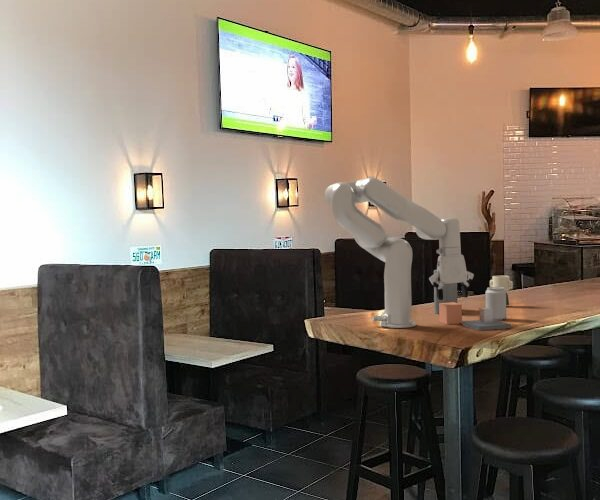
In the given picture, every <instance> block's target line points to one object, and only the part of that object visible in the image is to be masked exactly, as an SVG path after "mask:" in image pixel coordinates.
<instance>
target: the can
mask: <svg viewBox="0 0 600 500" xmlns="http://www.w3.org/2000/svg"><path fill="white" fill-rule="evenodd" d="M506 293H507V291H505V290H504V288H503V287H490V286H489V287H487V288H486V290H485V302H484V303H485V308H491V309H492V319H494V320H497V321H504V320H505V319H507V305H506ZM503 319H504V320H503Z"/></svg>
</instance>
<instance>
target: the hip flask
mask: <svg viewBox="0 0 600 500" xmlns="http://www.w3.org/2000/svg"><path fill="white" fill-rule="evenodd" d="M435 273H437V269H434V270H433V275H434V274H435ZM435 282H436V283H438V280H437V278H435ZM441 289H443V300H439V299H438V298H437V290H436V288H435V287H434V286H433V291H434V292H433V296H434V297H433V301H434V302H433V303H434V315H439V303H451V302H455V303H458V283H450V284H444V285H443V286H442V288H441Z"/></svg>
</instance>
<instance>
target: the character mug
mask: <svg viewBox="0 0 600 500" xmlns="http://www.w3.org/2000/svg"><path fill="white" fill-rule="evenodd" d="M491 277H492V278H491V279H490V280H489V287H503V288H504V290H505V291H506V306H509V305H510V302H509V301H510V300H509V295H508V293H507V292H509V291H510V289H511V290H512V289H513V288H514V287H513V285H514V282H513V280H510V276H509V275H492V276H491Z"/></svg>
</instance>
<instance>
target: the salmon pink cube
mask: <svg viewBox="0 0 600 500" xmlns="http://www.w3.org/2000/svg"><path fill="white" fill-rule="evenodd" d="M462 305H463V304H462V303H458V302H457V303H455V302H451V303H439V314H438V315H439V323H442V324H444V325H455V324H456V325H457V324H459V323H461V324H462V321H463V306H462ZM459 325H460V324H459Z"/></svg>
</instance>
